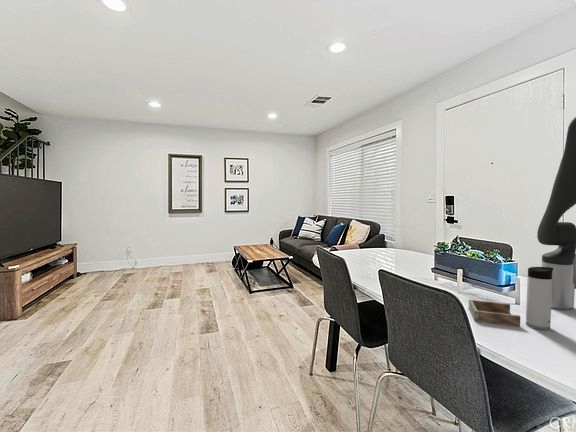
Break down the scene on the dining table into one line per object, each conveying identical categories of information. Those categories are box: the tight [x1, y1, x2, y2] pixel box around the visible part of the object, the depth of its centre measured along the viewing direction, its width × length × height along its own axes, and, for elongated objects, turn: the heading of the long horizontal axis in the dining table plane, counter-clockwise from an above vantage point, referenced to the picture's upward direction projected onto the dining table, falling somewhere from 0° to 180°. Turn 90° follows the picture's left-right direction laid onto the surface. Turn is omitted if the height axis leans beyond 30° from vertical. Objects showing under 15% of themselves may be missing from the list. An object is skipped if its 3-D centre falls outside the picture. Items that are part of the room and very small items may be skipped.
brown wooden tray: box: [468, 299, 521, 328], centre depth 107 cm, size 13×13×4 cm
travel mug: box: [525, 266, 553, 331], centre depth 98 cm, size 6×7×20 cm
